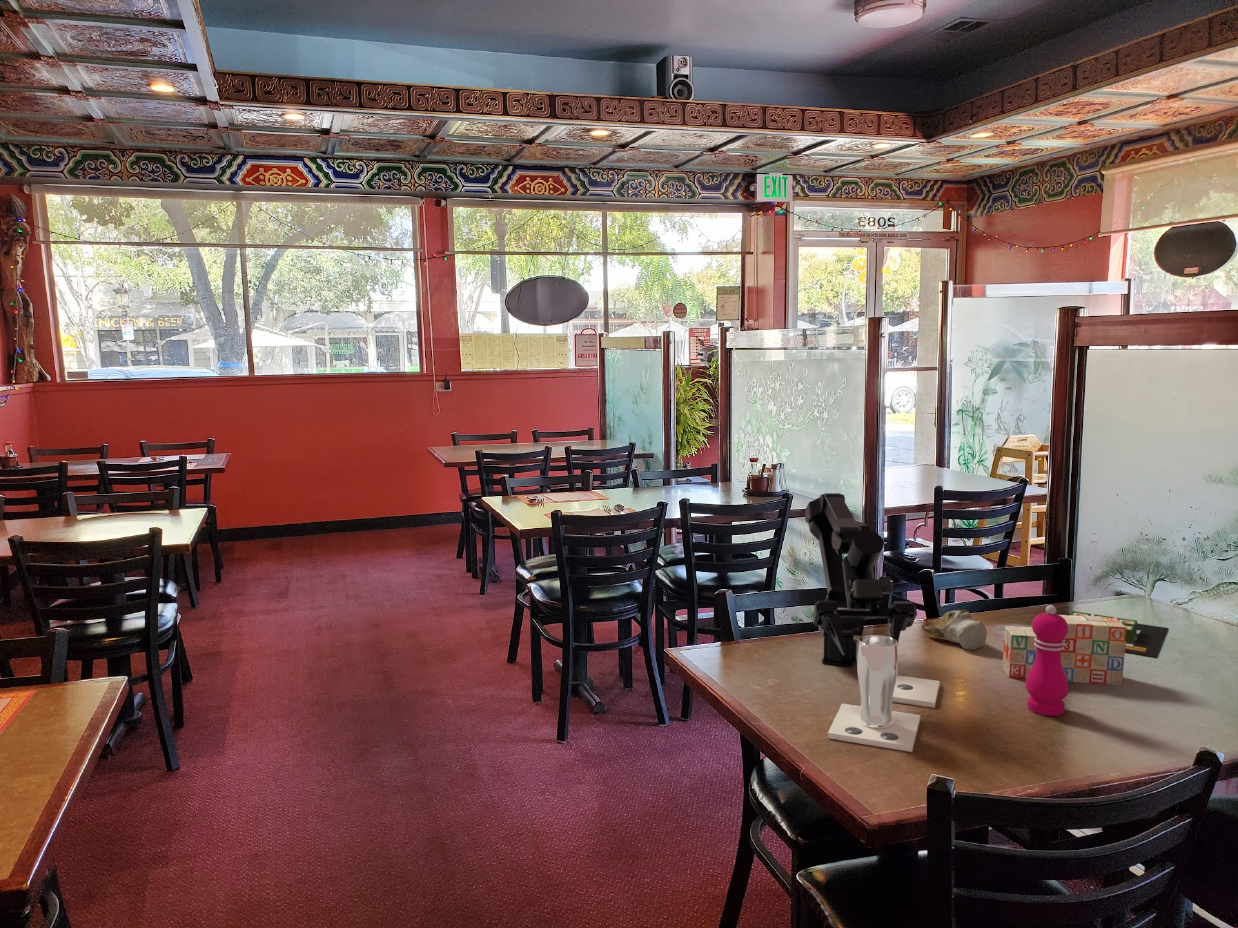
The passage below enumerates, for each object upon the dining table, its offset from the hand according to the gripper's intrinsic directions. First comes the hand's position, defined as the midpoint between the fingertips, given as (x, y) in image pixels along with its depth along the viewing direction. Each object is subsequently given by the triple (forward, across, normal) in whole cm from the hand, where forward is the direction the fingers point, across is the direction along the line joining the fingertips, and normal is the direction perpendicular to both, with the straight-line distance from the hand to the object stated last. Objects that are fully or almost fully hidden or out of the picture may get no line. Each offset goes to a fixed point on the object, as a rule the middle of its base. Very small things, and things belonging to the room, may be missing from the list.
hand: (869, 654), depth 166 cm
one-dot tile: (+1, +9, +14) cm, 16 cm away
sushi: (-26, +64, +42) cm, 81 cm away
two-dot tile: (+14, -1, +1) cm, 14 cm away
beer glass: (+13, 0, +1) cm, 13 cm away
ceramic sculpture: (-20, +28, +36) cm, 50 cm away
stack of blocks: (-6, +43, +21) cm, 48 cm away
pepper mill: (+7, +33, +8) cm, 35 cm away
